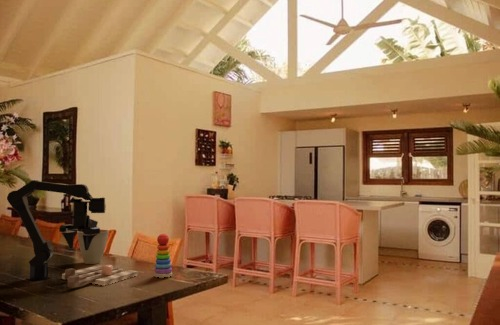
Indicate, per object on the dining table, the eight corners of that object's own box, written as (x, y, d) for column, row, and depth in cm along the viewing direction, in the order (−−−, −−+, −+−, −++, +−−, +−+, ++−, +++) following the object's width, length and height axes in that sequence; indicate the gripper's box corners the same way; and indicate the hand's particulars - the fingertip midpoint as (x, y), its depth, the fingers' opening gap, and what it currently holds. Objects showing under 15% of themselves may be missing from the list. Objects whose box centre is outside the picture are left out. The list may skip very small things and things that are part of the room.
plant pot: (113, 261, 217) (114, 230, 218) (95, 266, 203) (97, 233, 204) (88, 259, 221) (89, 228, 222) (69, 264, 207) (70, 231, 208)
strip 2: (72, 287, 161) (73, 277, 161) (67, 286, 162) (67, 276, 162) (114, 275, 181) (114, 267, 181) (109, 275, 182) (109, 266, 182)
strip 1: (69, 279, 173) (69, 270, 173) (64, 278, 174) (64, 269, 174) (108, 269, 193) (109, 261, 193) (104, 268, 194) (104, 260, 194)
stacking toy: (164, 273, 192) (165, 232, 193) (175, 276, 187) (177, 233, 188) (150, 276, 186) (151, 233, 187) (161, 279, 181) (162, 235, 182)
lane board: (101, 286, 167) (101, 280, 167) (58, 279, 178) (58, 273, 178) (137, 275, 187) (137, 270, 187) (97, 269, 197) (97, 264, 197)
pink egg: (106, 275, 176) (107, 267, 176) (99, 274, 178) (99, 266, 178) (114, 273, 180) (114, 265, 180) (106, 272, 182) (107, 264, 182)
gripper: (110, 213, 186) (108, 248, 185) (79, 210, 194) (78, 245, 194) (90, 214, 176) (89, 252, 175) (58, 212, 184) (57, 248, 184)
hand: (78, 249), depth 182 cm, fingers open, 9 cm apart
